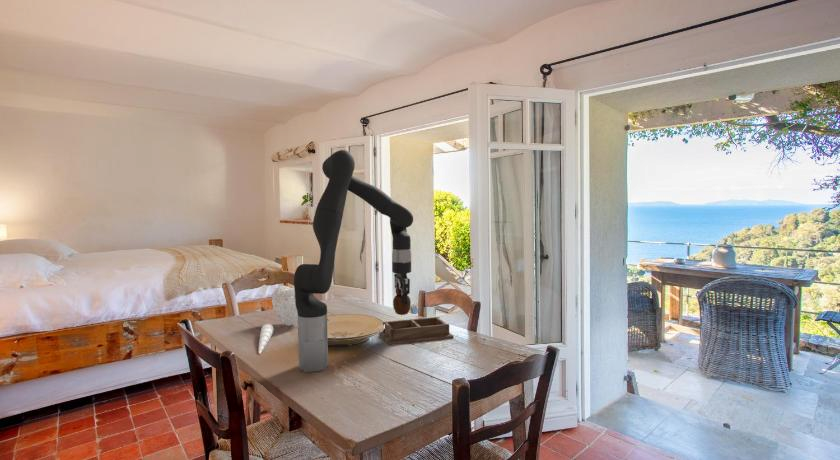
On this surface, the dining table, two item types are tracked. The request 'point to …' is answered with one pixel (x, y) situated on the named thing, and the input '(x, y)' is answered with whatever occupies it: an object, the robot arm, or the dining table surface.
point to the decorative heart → (285, 305)
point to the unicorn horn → (265, 336)
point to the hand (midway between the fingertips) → (401, 302)
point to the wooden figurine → (398, 304)
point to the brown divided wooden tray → (415, 330)
